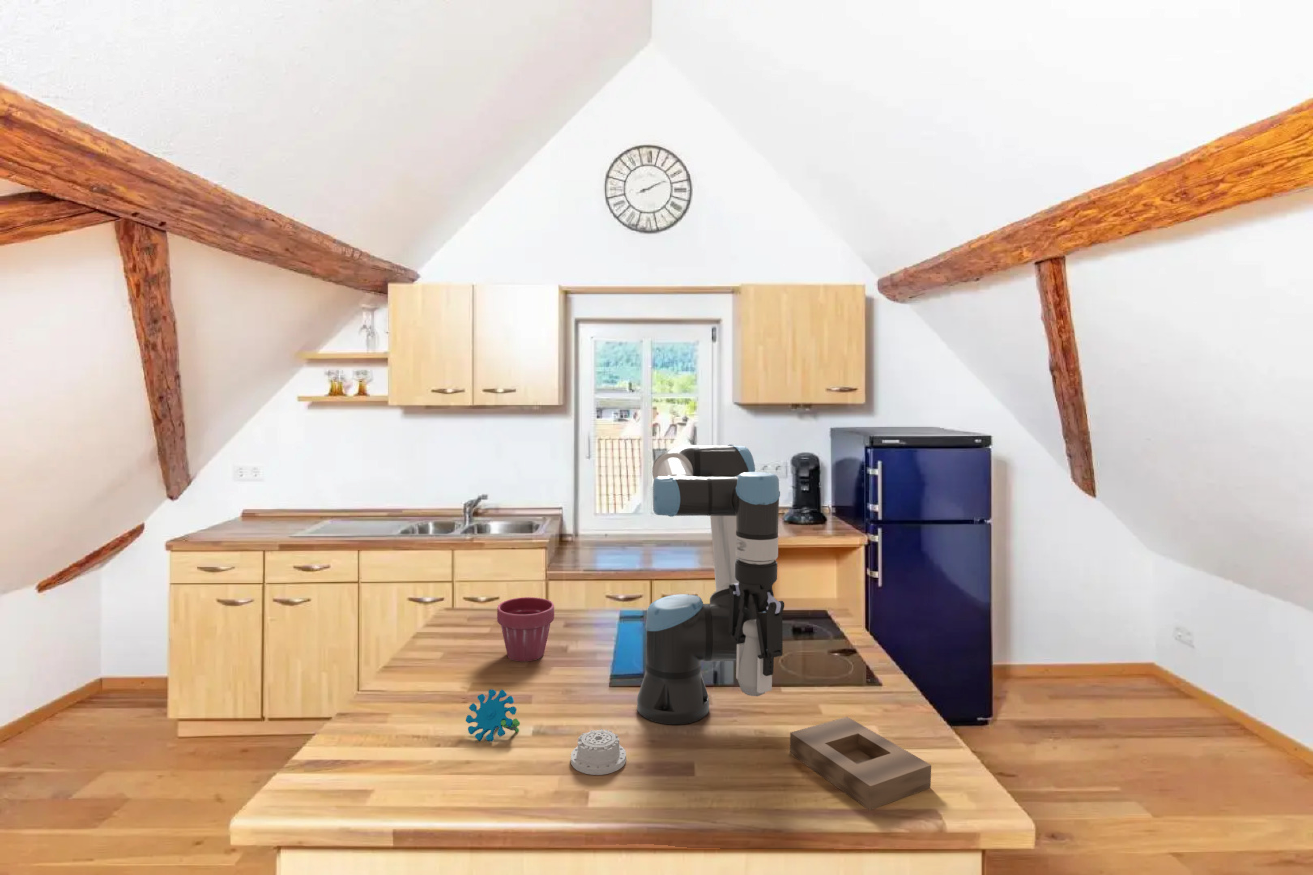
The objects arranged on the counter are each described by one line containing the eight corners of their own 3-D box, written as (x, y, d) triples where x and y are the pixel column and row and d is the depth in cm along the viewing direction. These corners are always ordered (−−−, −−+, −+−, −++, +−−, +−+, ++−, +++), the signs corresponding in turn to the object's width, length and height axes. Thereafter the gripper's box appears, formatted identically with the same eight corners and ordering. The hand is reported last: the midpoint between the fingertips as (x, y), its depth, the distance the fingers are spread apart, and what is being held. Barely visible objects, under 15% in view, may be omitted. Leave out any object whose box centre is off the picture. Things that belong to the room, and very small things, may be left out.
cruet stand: (789, 753, 131) (790, 732, 131) (846, 736, 138) (847, 716, 138) (869, 810, 114) (870, 786, 113) (930, 787, 120) (931, 765, 120)
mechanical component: (613, 781, 122) (634, 753, 131) (613, 756, 122) (634, 730, 131) (561, 770, 125) (585, 744, 135) (561, 746, 125) (585, 721, 134)
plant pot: (549, 666, 171) (549, 614, 170) (491, 665, 171) (490, 613, 171) (558, 645, 186) (558, 597, 185) (504, 644, 186) (504, 596, 185)
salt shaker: (768, 700, 126) (770, 628, 125) (736, 696, 127) (737, 625, 126) (769, 686, 132) (771, 617, 130) (738, 683, 133) (740, 615, 132)
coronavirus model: (454, 728, 136) (482, 680, 142) (466, 739, 140) (493, 692, 146) (500, 749, 132) (527, 698, 137) (512, 759, 136) (537, 710, 141)
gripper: (710, 550, 134) (708, 669, 136) (771, 574, 117) (768, 709, 119) (743, 545, 137) (740, 662, 139) (807, 568, 121) (803, 700, 123)
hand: (753, 684), depth 129 cm, fingers closed on salt shaker, 6 cm apart
